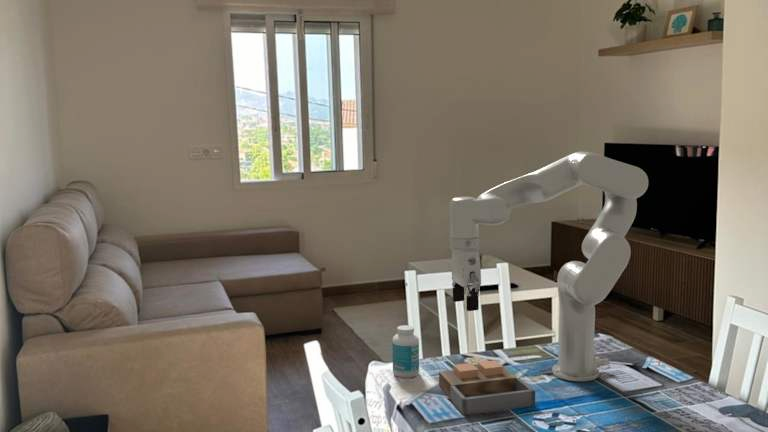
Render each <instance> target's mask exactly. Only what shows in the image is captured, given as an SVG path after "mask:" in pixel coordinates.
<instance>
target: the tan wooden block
mask: <svg viewBox="0 0 768 432" xmlns="http://www.w3.org/2000/svg"><path fill="white" fill-rule="evenodd" d="M499 364H500V363H499ZM500 365H502V366H503V374H497V375H488V376H485V375H484V374H482V373H481V372H480V371H479V370H478V377H472V378H463V379H460V378H459V377H458V376H457V375H456V374H455V373H454V372H453V369H449V370H440V371H438V386H439V388H440V389H441V390H442V391H443V392H444V394H446V395H447V396H448V398H449V399H450V386H455V387H456V388H457V389H458V390H459V391H460V392H461V393H462V394H463V395H464V396H465V397H468V396H476V395H484V394H492V393H500V392H507V391H515V390H516V378H518V377H517V376H516V375H515V374H513V373H512V372H511V371H510V370H509V369H507V368H506V366H504V364H500ZM475 367H476V368H477V369H478V366H475Z"/></svg>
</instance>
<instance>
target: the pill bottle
mask: <svg viewBox="0 0 768 432" xmlns="http://www.w3.org/2000/svg"><path fill="white" fill-rule="evenodd" d="M396 332H397V333H396V334H395V335H394V336H393V337H392V373H393V375H394V376H396V377H398V378H404V379H407V378H408V379H409V378H413V377H416V376H418V375H419V373H420V341H419V340H420V338H419V337H418V335H416V334H415V333H414V332H415V327H414V326H412V325H405V324H404V325H399V326H397V328H396Z"/></svg>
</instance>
